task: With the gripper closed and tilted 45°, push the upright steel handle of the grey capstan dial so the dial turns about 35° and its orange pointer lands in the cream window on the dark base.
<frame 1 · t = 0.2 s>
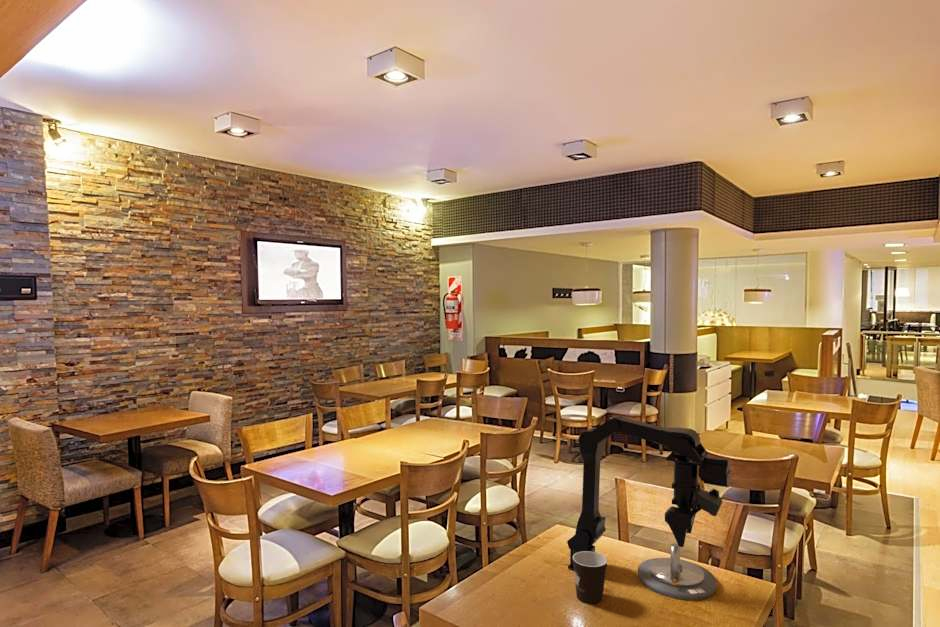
hand: (685, 539, 143), 15 cm above the table, tool pointing down, fingers open, 9 cm apart
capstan: (676, 556, 150), point 7 cm above the table, hinge at 0.0°
coffee mug: (589, 595, 144), on the table
dial base: (676, 580, 152), on the table
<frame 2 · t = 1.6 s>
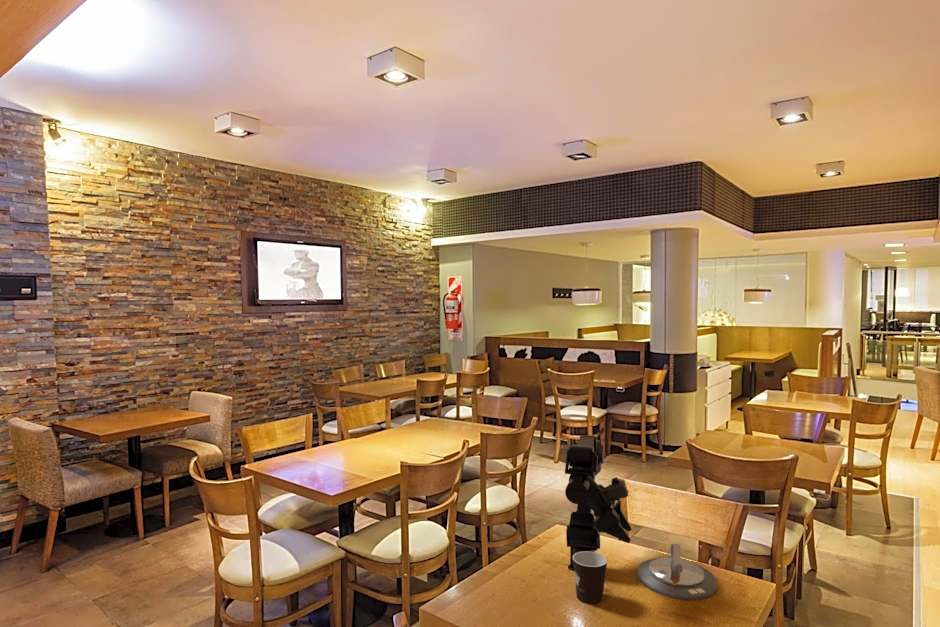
hand: (630, 535, 149), 13 cm above the table, tool tilted 45°, fingers open, 8 cm apart
nothing on the table moved.
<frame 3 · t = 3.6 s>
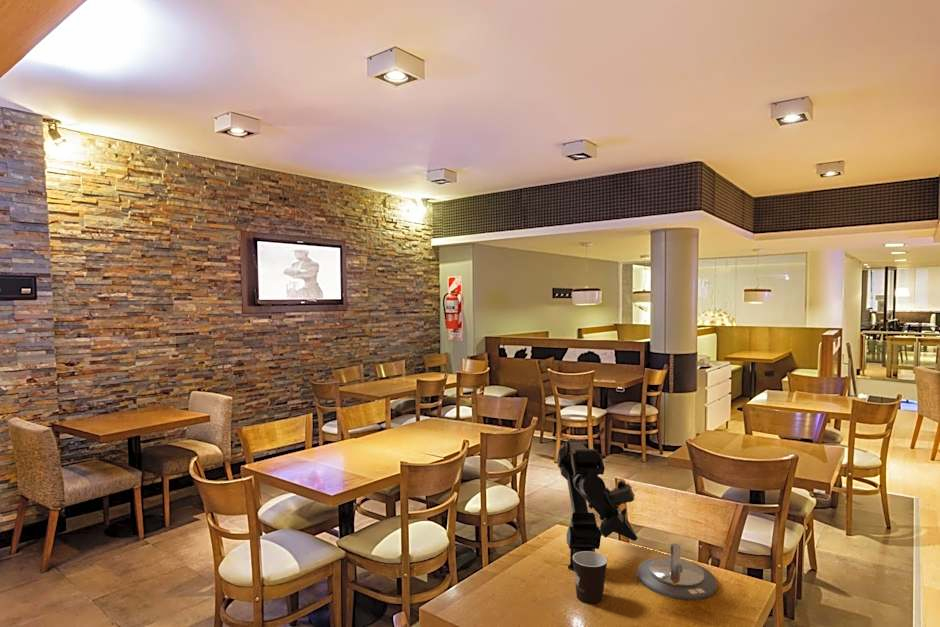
hand: (636, 539, 149), 12 cm above the table, tool tilted 45°, fingers closed
nothing on the table moved.
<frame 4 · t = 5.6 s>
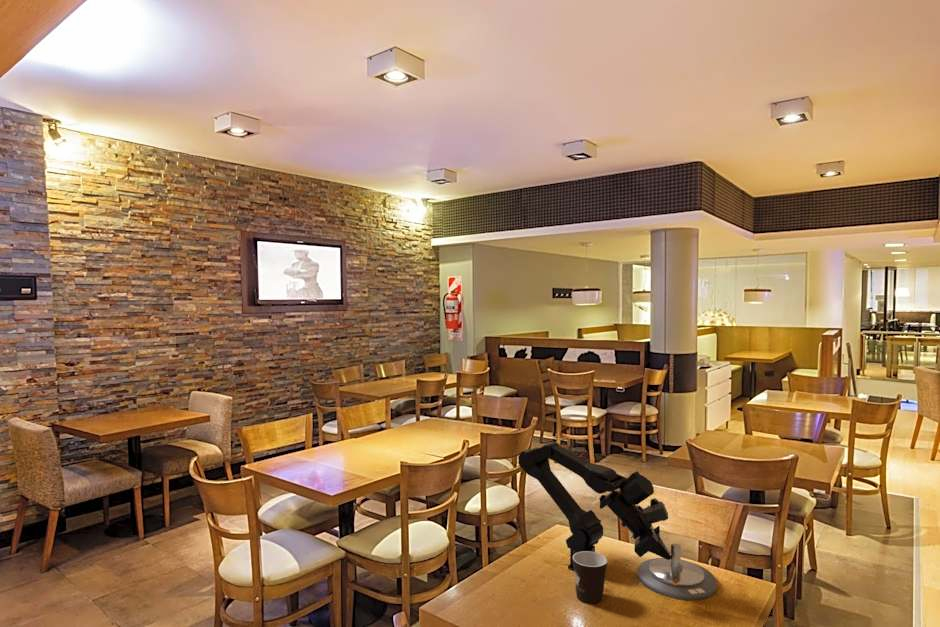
hand: (670, 558, 146), 8 cm above the table, tool tilted 45°, fingers closed, pressing on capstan
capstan: (676, 556, 150), point 7 cm above the table, hinge at 0.9°, touching gripper
everything else where it was.
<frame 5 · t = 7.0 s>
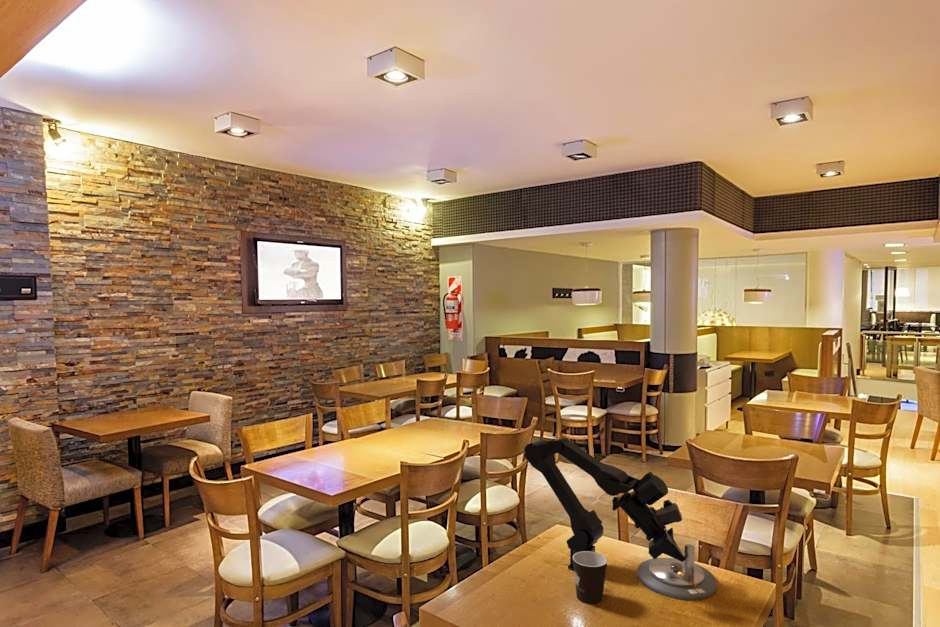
hand: (683, 560, 145), 8 cm above the table, tool tilted 45°, fingers closed, pressing on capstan
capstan: (678, 557, 150), point 7 cm above the table, hinge at 34.2°, touching gripper
everything else where it was.
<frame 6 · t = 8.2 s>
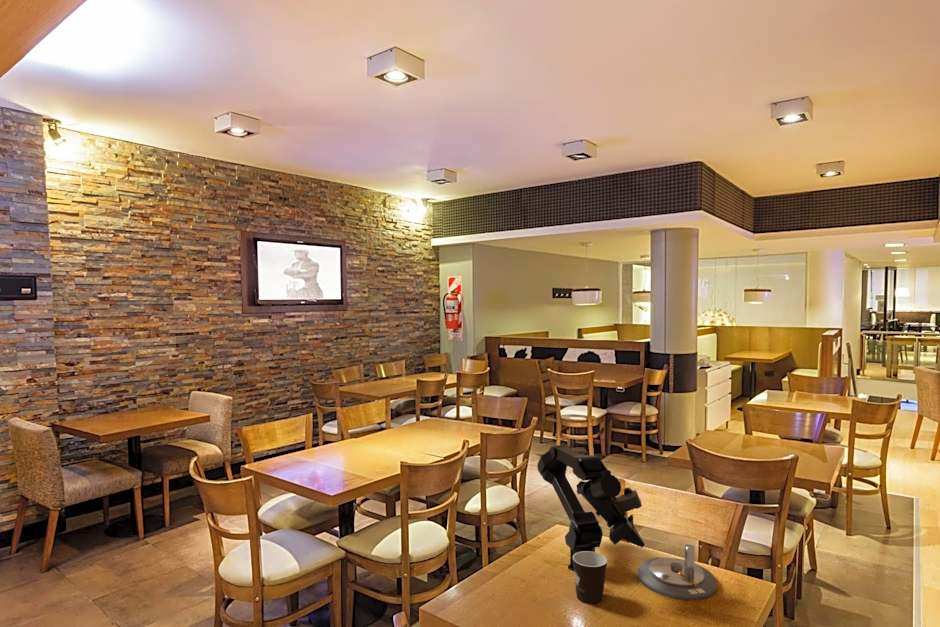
hand: (643, 545, 149), 10 cm above the table, tool tilted 45°, fingers closed
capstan: (678, 557, 150), point 7 cm above the table, hinge at 34.2°
everything else where it was.
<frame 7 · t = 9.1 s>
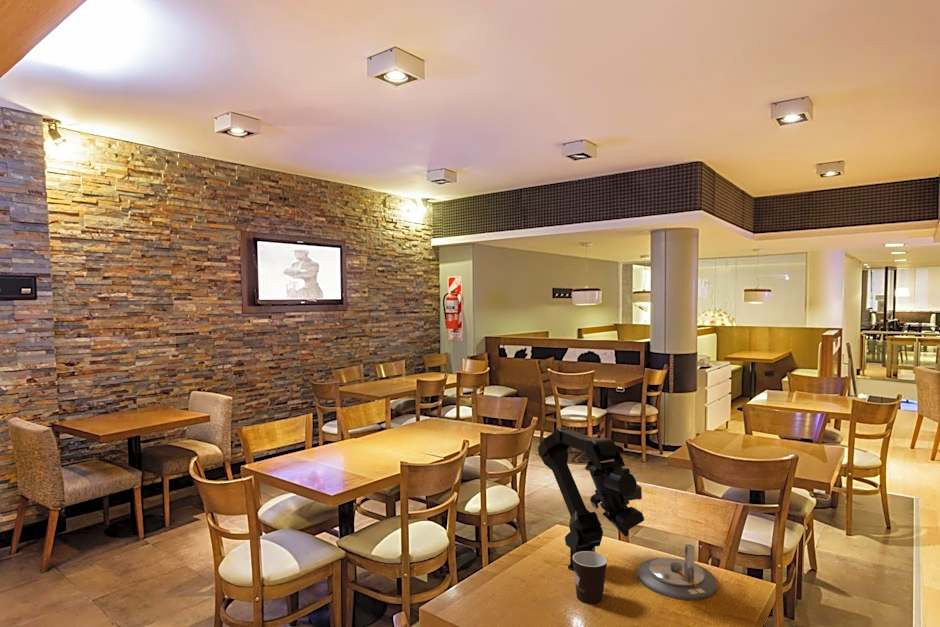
hand: (626, 535, 152), 12 cm above the table, tool tilted 25°, fingers closed
nothing on the table moved.
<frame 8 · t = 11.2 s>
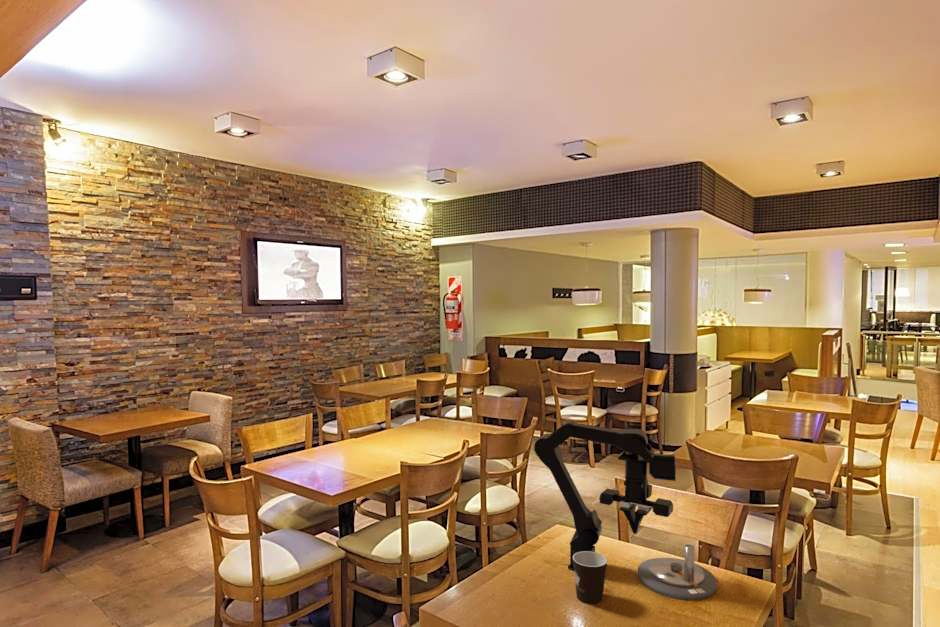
hand: (635, 533, 153), 12 cm above the table, tool pointing down, fingers closed
nothing on the table moved.
at the end: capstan at +34° (first picture: +0°); coffee mug moved 0.2 cm from its start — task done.
